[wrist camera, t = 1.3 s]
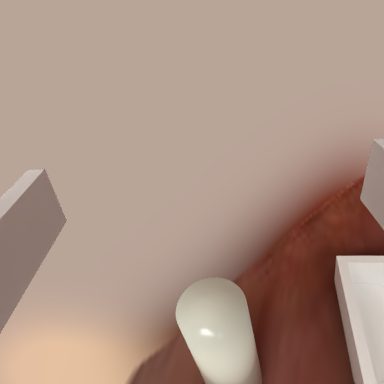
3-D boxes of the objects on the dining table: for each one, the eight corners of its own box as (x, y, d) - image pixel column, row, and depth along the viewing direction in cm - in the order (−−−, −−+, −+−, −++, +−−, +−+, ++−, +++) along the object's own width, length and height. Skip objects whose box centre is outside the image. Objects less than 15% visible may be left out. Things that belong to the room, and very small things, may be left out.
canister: (262, 353, 35) (248, 277, 27) (262, 415, 31) (245, 346, 23) (211, 349, 37) (183, 276, 29) (203, 406, 32) (168, 340, 24)
